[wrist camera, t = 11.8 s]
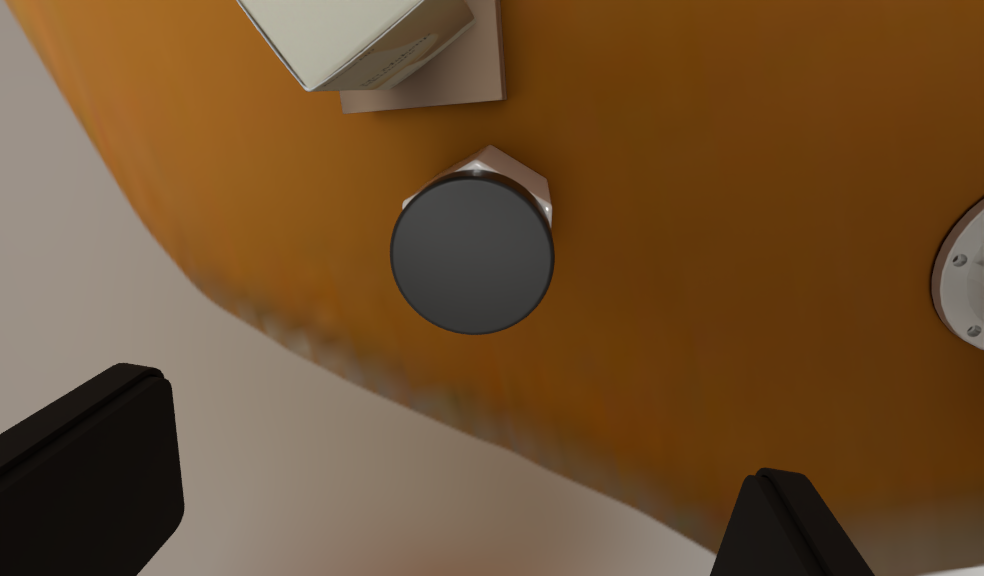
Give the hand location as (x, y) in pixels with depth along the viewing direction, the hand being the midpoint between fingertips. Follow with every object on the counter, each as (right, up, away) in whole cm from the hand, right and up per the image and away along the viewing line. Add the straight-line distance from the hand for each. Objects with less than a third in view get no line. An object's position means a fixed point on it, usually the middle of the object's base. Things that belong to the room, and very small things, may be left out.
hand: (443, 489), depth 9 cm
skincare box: (-3, +18, +19) cm, 26 cm away
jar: (+1, +9, +28) cm, 30 cm away
